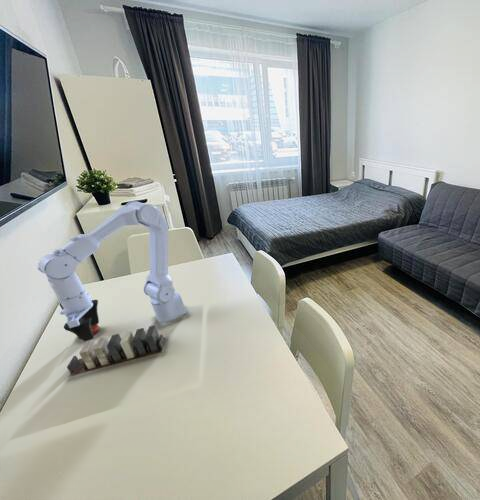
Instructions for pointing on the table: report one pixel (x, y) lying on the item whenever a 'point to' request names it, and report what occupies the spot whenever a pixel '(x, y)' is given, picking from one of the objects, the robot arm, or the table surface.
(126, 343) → the cream book
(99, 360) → the book rack
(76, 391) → the table surface
